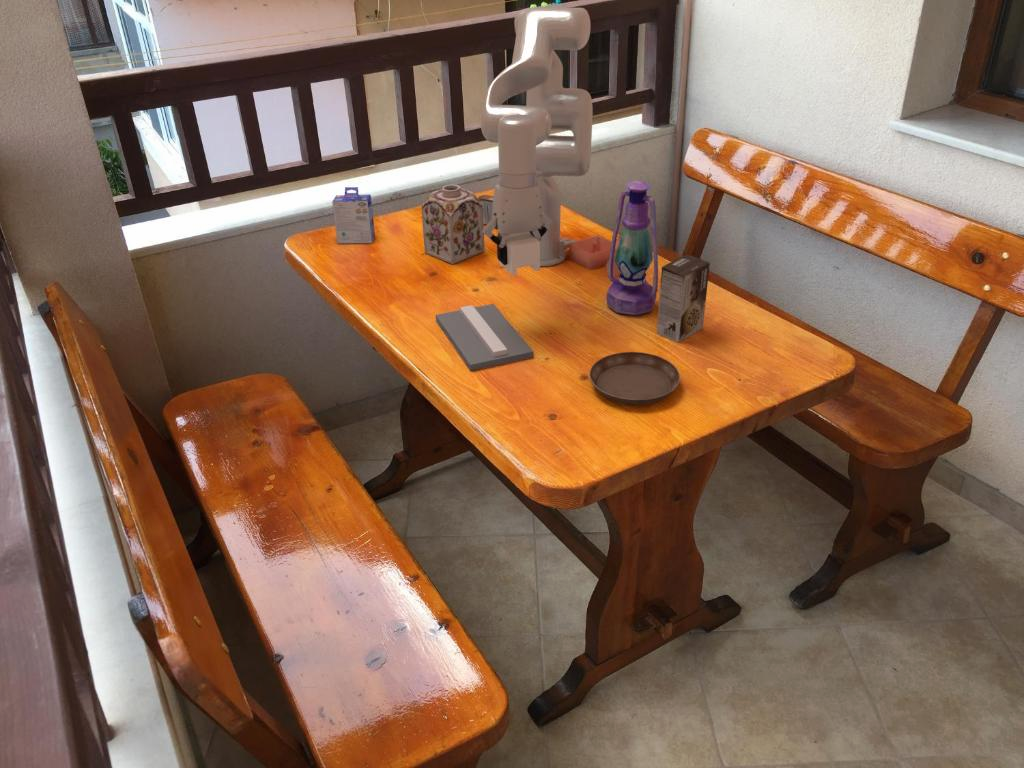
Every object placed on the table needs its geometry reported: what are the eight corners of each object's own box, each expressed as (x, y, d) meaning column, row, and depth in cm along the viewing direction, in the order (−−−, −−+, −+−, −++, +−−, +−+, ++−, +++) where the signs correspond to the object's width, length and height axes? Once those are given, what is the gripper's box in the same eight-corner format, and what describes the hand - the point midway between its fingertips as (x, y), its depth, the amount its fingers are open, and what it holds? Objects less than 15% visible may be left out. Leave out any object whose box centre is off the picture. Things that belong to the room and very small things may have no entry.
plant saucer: (616, 420, 161) (616, 407, 159) (573, 375, 175) (574, 362, 173) (696, 398, 167) (697, 385, 165) (649, 357, 181) (650, 344, 179)
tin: (523, 228, 242) (523, 199, 237) (519, 232, 240) (518, 203, 235) (475, 220, 247) (474, 192, 243) (470, 224, 245) (469, 196, 240)
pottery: (569, 258, 224) (569, 222, 219) (598, 249, 228) (599, 214, 223) (611, 282, 211) (613, 245, 206) (641, 273, 215) (644, 236, 210)
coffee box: (679, 319, 194) (686, 253, 185) (703, 328, 190) (711, 261, 181) (654, 333, 189) (660, 266, 180) (679, 343, 185) (685, 274, 176)
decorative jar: (486, 252, 228) (483, 186, 218) (453, 265, 221) (449, 198, 211) (455, 240, 235) (452, 176, 225) (423, 253, 228) (418, 187, 219)
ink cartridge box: (376, 236, 239) (370, 185, 231) (373, 244, 234) (367, 192, 226) (340, 236, 239) (334, 185, 231) (337, 244, 234) (330, 193, 226)
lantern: (593, 306, 200) (597, 181, 184) (622, 289, 207) (629, 167, 191) (639, 323, 193) (648, 194, 177) (668, 305, 200) (680, 180, 184)
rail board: (493, 309, 200) (493, 299, 198) (533, 357, 181) (533, 346, 179) (435, 320, 195) (435, 310, 194) (470, 371, 176) (470, 359, 175)
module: (524, 256, 189) (524, 228, 186) (539, 270, 183) (539, 241, 180) (498, 261, 187) (497, 233, 184) (512, 275, 181) (511, 246, 178)
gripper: (548, 167, 181) (547, 247, 190) (471, 178, 175) (474, 260, 185) (563, 177, 175) (562, 259, 184) (484, 189, 169) (487, 273, 179)
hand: (518, 259), depth 184 cm, fingers closed on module, 6 cm apart
